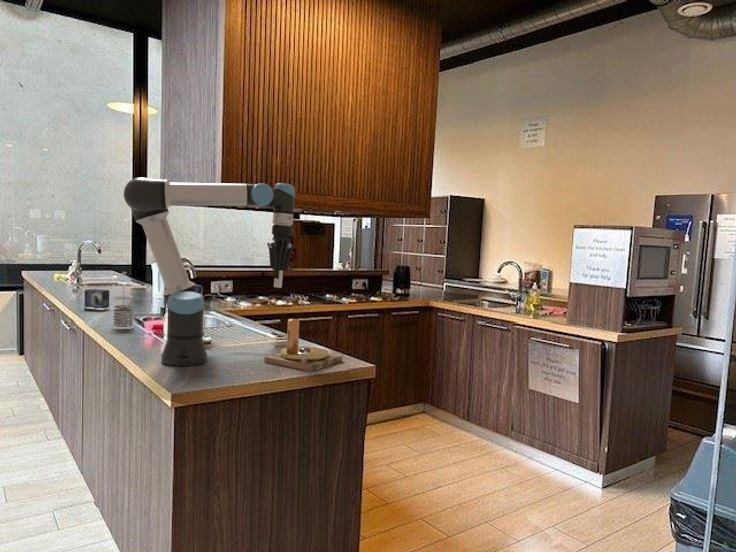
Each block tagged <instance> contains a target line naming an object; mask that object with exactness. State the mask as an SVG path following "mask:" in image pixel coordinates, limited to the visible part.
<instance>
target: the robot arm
mask: <svg viewBox="0 0 736 552" xmlns="http://www.w3.org/2000/svg"><path fill="white" fill-rule="evenodd" d="M123 199H124V201H125V203H126V204H127V206H128V207H129V208H130V209H131V212H132V213H131V214H132V215H133V217H134V220H135V222H136V223H137V224H139V225H141V226H142V229H143V231H144V234H145V237H146V239H147V242H148V244H149V248H150V250H151V253H152V256H153V258H154V261H155V263H156V266H157V268H158V270H159V273H160V277H161V279H162V281H163V284H164V287H165V289H164V293H163V294H162V295H163V298H164V300H165V303H166V304H167V305H166V306H167V325H166V326H167V331H166V333H167V335H166V342H165V345H164V347H163V351H162V353H161V357H160V358H161V359H160V363H162V364H163V365H167V366H173V367H192V366H193V367H194V366H198V365H200V366H201V365H202V364H205V363H207V362H208V352H207V350H206V345H205V342H204V313H205V312H204V311H205V310H204V307H205V299H204V296H203V294H202V295H201V294H199V293H198V290H197V287H196V285H197V284H196V283H195V282H193V281H191V280H190V278H189V276H188V273H187V270H186V268H185V265H184V262H183V259H182V257H181V254H180V251H179V249H178V246H177V242H176V240H175V237H174V235H173V232H172V230H171V226H170V224H169V222H168V218H167V217H168V215H169V213H170V211H169V208H170V207H171V206H174V207H176V206H177V207H178V206H180V207H183V206H184V207H187V206H189V207H191V206H195V207H196V206H199V207H201V206H210V207H211V206H212V207H213V206H216V207H217V206H220V207H221V206H229V207H230V206H233V207H234V206H235V207H236V206H238V207H239V206H240V207H241V206H243V207H244V206H248V207H250V208H251V207H256V208H266V209H267V208H268V209H273V213H272V224H273V225H272V226H271V227H272V228H271V235H273V236H272V239H271V240H272V241H269V242H267V243H266V244H267V247H268V254H269V266H270V267H269V268H271V269H272V270H273V278H274V279H273V281H274V282H273V287H274V288H278V289H281V288H282V287H283V279H284V271H287V269H289V265H290V262H291V261H290V260H291V257H292V252H293V249H294V247H295V246H294V244H292V243H291V239H290V237H292V235H293V227H292V226H293V223H294V220H293V219H294V211H295V210H294V209H295V208H294V207H295V201H296V200H295V199H296V188H295V186H294V185H292V184H291V183H290V184H289V183H281V182H279V183H275V186H274V187H271V186H270V185H269V184H267V183H264V182H262V183H261V182H259V183H222V182H221V183H215V182H214V183H211V182H209V183H207V182H201V183H200V182H170V181H168V180H167V179H159V178H158V179H157V178H156V179H155V178H148V177H142V176H141V177H135V178H132V179H130V180H129V181H128V182H127V183H126V185H125V186H124V189H123Z"/></svg>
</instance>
